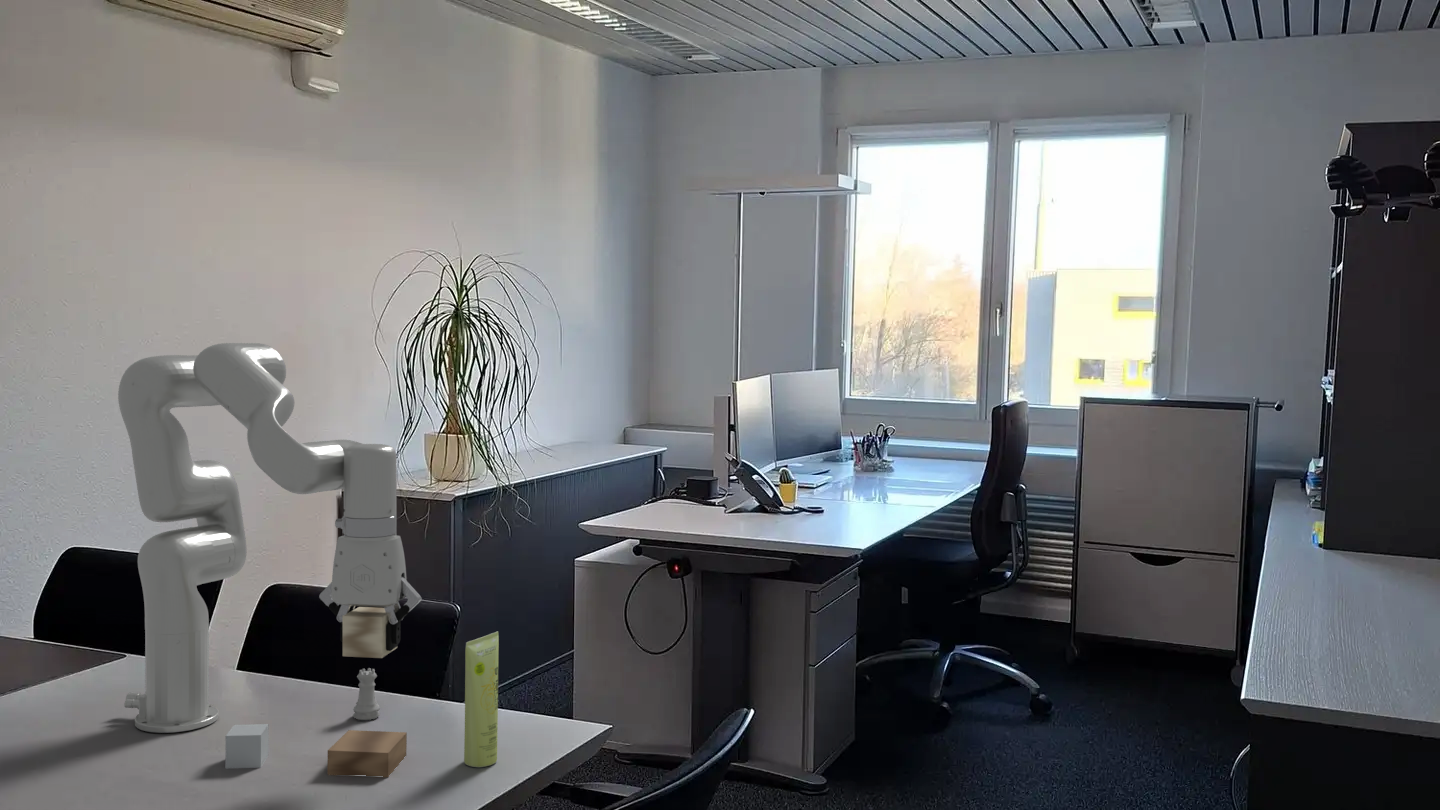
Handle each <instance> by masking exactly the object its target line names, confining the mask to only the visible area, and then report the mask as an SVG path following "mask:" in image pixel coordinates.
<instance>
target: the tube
mask: <svg viewBox="0 0 1440 810" xmlns="http://www.w3.org/2000/svg"><path fill="white" fill-rule="evenodd" d="M499 637H500V636H499V631H495V632H492V633H489V634H487V635H484V636H482V637H478V638H476V639H473V640H469V641H467V642H465V650H464V651H465V655H464V656H465V659H464V661H465V667H464V668H465V671H464V672H465V673H464V674H465V675H464V676H465V677H464V683H465V684H464V687H465V688H464V740H463V741H464V745H463V746H464V747H463V750H464V751H463V753H464V754H463V761H464V764H465V765H466V766H469V767H472V768H485V767H489V766H492V765H494V764H496V763H497V761H498V731H499V730H498V724H499V723H498V722H499V721H498V719H499V713H498V712H499V710H498V709H499V648H500V647H499V645H500V644H499V640H500V639H499Z"/></svg>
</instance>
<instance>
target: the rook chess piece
mask: <svg viewBox="0 0 1440 810" xmlns="http://www.w3.org/2000/svg"><path fill="white" fill-rule="evenodd" d="M358 670H359V671H358V674H357V676H356V678H357V680H358V681H359V683H358V687H359V689H358V690H359V691H358V698H357V701H356V703H355V704H356V705H355V706H354V707H353V709H352V710H353V712H354V713H353V714H352V716H353V718H354V719H355V718H356V719H359V720H358V721H360V720H369V721H372V720H371V719H374V720H376V719H378V718H379V717H378V716H380V715H381V712H380V711H379V710H380V709H381V708H380V704H379V703H378V701H377V699H376V694H375V693H376V692H375V686H376V683H375V679H376V678H377V677H378V675H377V673H376V672H375V671H376V670H375V668H370V667H368V668H367V670H366V669H365V668H362V669H358ZM377 717H378V718H377ZM375 718H376V719H375ZM356 719H355V720H356Z"/></svg>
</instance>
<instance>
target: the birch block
mask: <svg viewBox="0 0 1440 810" xmlns="http://www.w3.org/2000/svg"><path fill="white" fill-rule="evenodd" d="M388 623H389V619H388V617H387V614H386V611H385V609H384V607H374V606H357V608H356V607H355V609H354V610H352V611H351V612H349V613H347V614H345V615H343V648H342V657H350V658H351V657H353V658H370V659H371V658H373V659H383V658H385V657H386V656H388V654H390V653H392V652H393V651H395V650H396V649H398V646H397V647H396V648H394V649H393V650H391V651H387V650H386V625H387V624H388Z"/></svg>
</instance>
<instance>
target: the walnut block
mask: <svg viewBox="0 0 1440 810" xmlns="http://www.w3.org/2000/svg"><path fill="white" fill-rule="evenodd" d="M407 734H408V733H407V732H405V731H404V732H403V731H381V730H379V731H378V730H377V731H375V730H354V729H353V730H352V729H350V730H349V729H348V731H346V732H345V733H344V734H343V735H342V736H341V737H340V738H338V740H336V742H335V743H334V744H332V745H331V747H329V748H328V749H327V774H328V775H327V776H337V775H366V776H383V777H382V778H387V777H388V778H389V777H390V776H391V775H392V774H393V772H395V770H396V769H397V768H398V767H399V766H400V764H401V763H402V762H403V761H404V760H405V758H406V757H407V749H408V748H407V747H408V746H407V745H408V744H407V739H408V738H407V736H408V735H407ZM405 756H406V757H405ZM404 757H405V758H404ZM402 760H403V761H402ZM401 761H402V762H401ZM400 762H401V763H400ZM399 763H400V764H399ZM396 767H397V768H396ZM395 768H396V769H395ZM394 769H395V770H394ZM391 773H392V774H391ZM390 774H391V775H390ZM389 775H390V776H389Z"/></svg>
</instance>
